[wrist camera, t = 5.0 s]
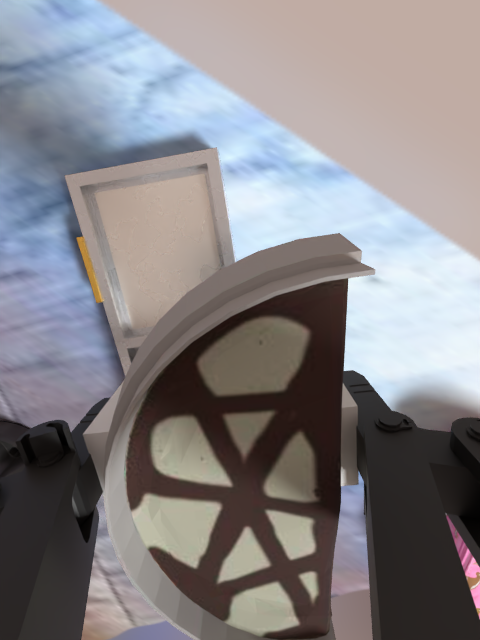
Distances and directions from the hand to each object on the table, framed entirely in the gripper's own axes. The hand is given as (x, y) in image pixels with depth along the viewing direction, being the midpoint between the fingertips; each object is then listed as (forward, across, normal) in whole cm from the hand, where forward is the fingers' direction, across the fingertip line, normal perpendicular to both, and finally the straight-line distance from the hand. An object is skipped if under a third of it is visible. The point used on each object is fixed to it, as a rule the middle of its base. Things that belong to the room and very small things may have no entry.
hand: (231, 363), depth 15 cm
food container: (+2, 0, 0) cm, 2 cm away
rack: (+16, -6, -3) cm, 18 cm away
